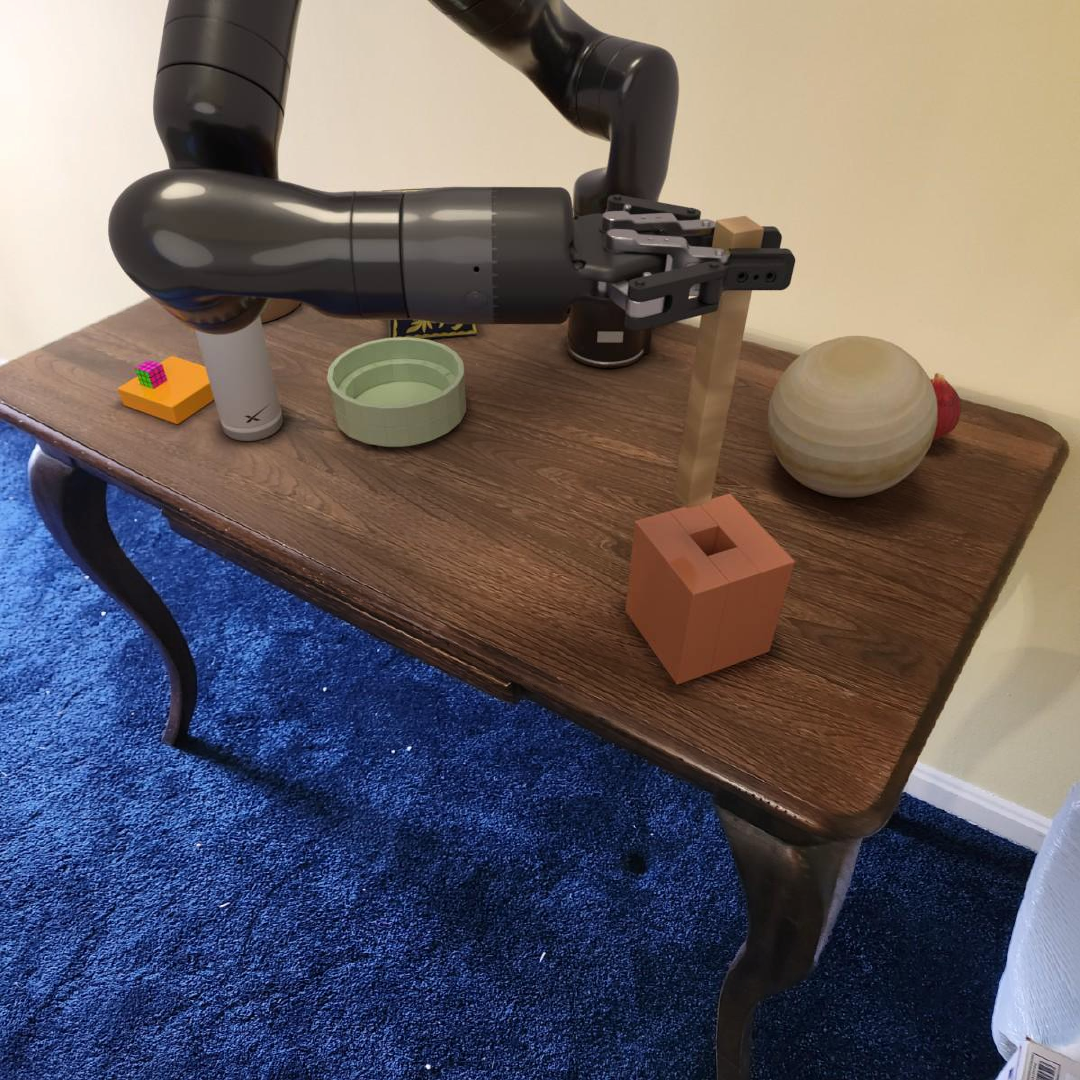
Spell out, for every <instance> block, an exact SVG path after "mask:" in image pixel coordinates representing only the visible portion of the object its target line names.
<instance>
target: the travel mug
mask: <svg viewBox="0 0 1080 1080" xmlns="http://www.w3.org/2000/svg"><path fill="white" fill-rule="evenodd" d="M194 332H195V336H196V339H197V343H198V346H199V347H198V348H199V351H200V354H201V357H202V361H203V364H204V366H205V368H206V371H207V375H208V378H209V382H210V385H211V389H212V392H213V396H214V400H213V401H214V403H215V406H216V410H217V413H218V416H219V420H220V423H221V424H220V425H221V427H222V431H223V434H225V435H226V436H227V437H229V438H231V439H233V440H236V441H243V442H250V441H251V442H253V441H260V440H264V439H266V438H268V437H270V436H273V435H274V434H275V433H277V432H278V431H279V430H280V429H281V428H282V425H283V423H284V417H283V411H282V408H281V403H280V398H279V395H278V390H277V386H276V380H275V377H274V371H273V368H272V364H271V363H272V362H271V359H270V354H269V350H268V346H267V341H266V337H265V332H264V327H263V323H261V318H260V316H259V317H258V318H257V319H256V320H255V321H254V322H253V323H251V324H250V325H249V326H247V327H245V328H244V329H242V330H240V331H237V332H234V333H231V334H224V335H213V334H207V333H203V332H200V331H197V330H195V329H194Z"/></svg>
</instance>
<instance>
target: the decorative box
mask: <svg viewBox="0 0 1080 1080" xmlns="http://www.w3.org/2000/svg"><path fill="white" fill-rule="evenodd" d="M433 188H434V187H424V188H404V189H403V188H402V189H401V188H400V189H385V190H383V189H382V190H380V191H403V192H404V193H406V192H407V191H419V190H426V189H433ZM387 324H388V333H389V338H396V337H412V338H420V339H428V340H432V339H444V338H446V339H447V338H455V337H457V338H458V337H467V336H477V335H478V332H477V328H476V324H446V323H438V322H431V321H423V320H412V319H409V320H387Z"/></svg>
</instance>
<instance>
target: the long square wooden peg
mask: <svg viewBox="0 0 1080 1080" xmlns="http://www.w3.org/2000/svg"><path fill="white" fill-rule="evenodd" d="M715 222H716V224H715V231H714V237H713V244H712V247H713V248H723V249H727V250H729V248H732V249H733V248H760V247H761V242H762V237H763V232H764V228H763V227H761V225H760V224H758V223H757V222H755V221H754V220H753V219H751V218H750V217H748V215H747V216H746V215H740V216H734V217H727V218H722V219H716V220H715ZM752 293H753V290H726V291H724V294H723V296H721V298H720V301H719V307H718V310H717V311H715V312H712V313H708V314H704V315H700V321H699V326H698V327H699V328H698V333H697V340H696V348H695V353H694V360H693V367H692V372H691V379H690V386H689V392H688V396H687V397H688V398H687V404H686V411H685V417H684V425H683V430H682V435H681V436H682V437H681V443H680V449H679V455H678V462H677V469H676V474H675V481H674V486H673V494H674V495H675V496H676V497H677V498H678V500H679V501H680V502H681V503H682V505H683V507H684V506H685V507H686V508H691V507H695V506H699V505H702V504H706V503H710V502H711V499H712V498H713V492H714V487H715V482H716V477H717V472H718V468H719V462H720V456H721V452H722V446H723V443H724V442H723V441H724V438H725V437H724V436H725V431H726V426H727V420H728V416H729V412H730V411H729V410H730V406H731V400H732V396H733V390H734V385H735V381H736V380H735V379H736V376H737V369H738V365H739V359H740V354H741V350H742V343H743V339H744V333H745V328H746V324H747V319H748V313H749V309H750V304H751V298H752Z"/></svg>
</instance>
